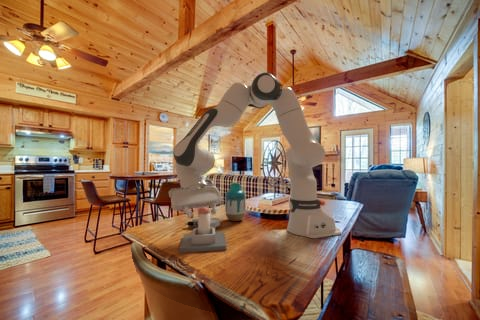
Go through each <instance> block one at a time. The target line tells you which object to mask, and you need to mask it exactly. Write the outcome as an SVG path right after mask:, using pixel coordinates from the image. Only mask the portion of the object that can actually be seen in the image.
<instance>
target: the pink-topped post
mask: <svg viewBox="0 0 480 320" xmlns="http://www.w3.org/2000/svg"><path fill="white" fill-rule="evenodd" d="M210 211H211V210H210V209H209V207H208V206H205V207H199V209H198V211H197V218H198V235H202V234H210V218H211V212H210Z"/></svg>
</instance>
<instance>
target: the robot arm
mask: <svg viewBox="0 0 480 320" xmlns="http://www.w3.org/2000/svg"><path fill="white" fill-rule="evenodd" d="M268 105H269V106H271V108H272V109H273V110H274V113H275V116H276V119H277V123H278V125H279V127H280V131H281V133H282V135H283V137H284V138H285V139H286V140H287V142H288V144H289V147H288V148H287V150H286V152H285V158H286V162H287V167H288V173H289V181H290V183H289V184H290V197H289V204H288V205H289V218H288V223H287V226H286V227H287V228H286V230H287V231H288V232H289V233H291V234H292V235H293V234H294V235H296V236H301V237H307V238H309V239H317V238H319V239H320V238H325V237H331V236H332V235H333V236H339V235H342V231H341V229H340V228H339V227H337V226H336V222H335V219H334V217H333V216H332V215H330V213H329V212H327V211H325V209H323V208H322V207H324V206H325V205H326V201H325V200H319V198H318V194H317V193H318V191H317V190H318V189H317V188H318V187H317V185H318V184H317V179H316V177H315V175H314V170H313V168H314V167H318V166H319V165H321V164H322V163H323V162H324V161H325V157H326V150H325V148H324V146H323V145H322V144H321V143H320V142H318V140H317V139H316V137H315V136H314V134H313V132H312V130H311V129H310V127H309V125H308V123H307V120H306V118H305V115H304V112H303V110H302V106H301V103H300V101H299V98H298V97H297V95H296V93H295V92H294V90H293V88H291V87H286V86H285V87H283V85H282V83H280V81H278V79H277V77H275V76H274V75H273V74H272V73H269V72H262V73H259V74H258V75H257V76H255V77H254V79H253V80H252V82H251V85H246V84H245V83H242V82H240V81H239V82H237V81H236V82H233V83H232V84H231V85H230V86H229V88H228V89H227V90H226V91H225V92H224V94H223V96H222V97H221V99H220V101H219V102H218V103H217V105H216V106H214V107H212V108H209V109H207V110H206V111H204V113H203V114H202V115H201V117H200V118H199V119H198V120H197V122H196V123H195V124H194V125H193V126H192V127H191V129H189V131H188V132H187V134H186V135H185V136H184V137H183V138H182V139H181V140H180V141H179V142H178V143H177V144H176V145H175V147H174V149H173V158H174V160H175V162H174V163H175V164H174V165H175V166H174V167H175V172H176V176H177V178H178V180H179V186H180V187H177V188H175V187H174V188H171V189H170V190H169V191H168V196H169V198H170V204H171V209H172V210H173V211H176V212H177V211H178V212H179V211H183V213H184V214H185V215H187V218H188V219H193V218H194V212H193V211H190V209H197V208H201V207H210V208H211V210H210V215H212V216H213V215H216V213H217V209H216V207H217V205H218V206H219V205H220V203H221V202H222V199H223V197H222V194H221V193H220V190H219V189H218V188H217V186H215V182H214V180H212V179H211V180H210V179H207V178H203V177H202V176H204V175H205V174H207V173H208V172H209V171H211V170H212V168H213V167H214V165H215V161H216V160H215V155H214V153H212V152H211V151H210V150H208V149H205V148H203V147H201V146H199V143H200V142H201V140H202V139H203V138H204V137H205V135H206V134H207V133H208V131H209V130H211V128H213V127H224V128H231V127H233V126H235V125H236V124H237V123H239V121H240V119H241V117H242V116H243V114H244V112H245V110H246V108H247V107H250V108H255V109H264V108H266V107H268ZM333 236H332V237H333Z"/></svg>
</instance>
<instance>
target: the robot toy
mask: <svg viewBox="0 0 480 320" xmlns="http://www.w3.org/2000/svg"><path fill="white" fill-rule="evenodd" d="M191 219H192V221H187V222H185V223H184V225H185V226H187V227H188V226H189V227H192V226H193V227H194V228H198V217H195V218H194V219H193V218H191ZM224 220H225V219H224V218H222V219H219V218H217V217H210V227H213V228H215V229H216V228H217V227H219V226H220V225H221V221H224Z"/></svg>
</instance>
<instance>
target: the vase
mask: <svg viewBox="0 0 480 320" xmlns="http://www.w3.org/2000/svg"><path fill="white" fill-rule="evenodd" d="M246 203H247V202H246V193H245V192H244V191H243V190H242V187H241V183H240V182H231V183H230V184H229V190H227V191H226V192H225V200H224V205H225V206H224V207H225V208H224V210H225V212H224V213H225V216H226V218H227V219H228V220H229V221H233V222H238V221H241V220H244V217H245V215H246Z"/></svg>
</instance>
